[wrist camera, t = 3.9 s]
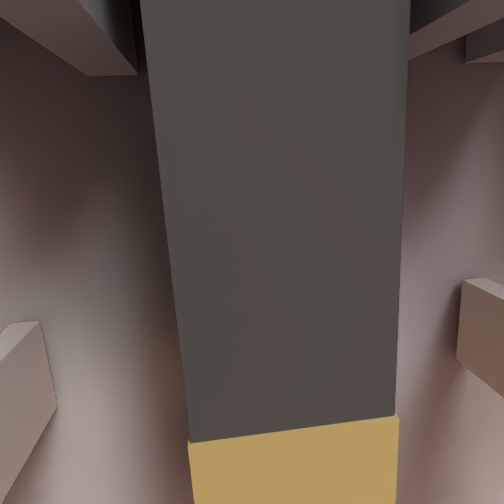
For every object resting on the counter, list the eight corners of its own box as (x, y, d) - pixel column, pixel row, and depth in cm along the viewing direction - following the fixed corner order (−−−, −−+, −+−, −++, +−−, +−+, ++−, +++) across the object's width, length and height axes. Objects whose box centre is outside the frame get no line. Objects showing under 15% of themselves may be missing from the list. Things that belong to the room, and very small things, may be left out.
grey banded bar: (208, 479, 13) (211, 648, 9) (148, -97, 9) (95, -340, 5) (328, 461, 13) (390, 614, 9) (322, -96, 9) (431, -317, 5)
